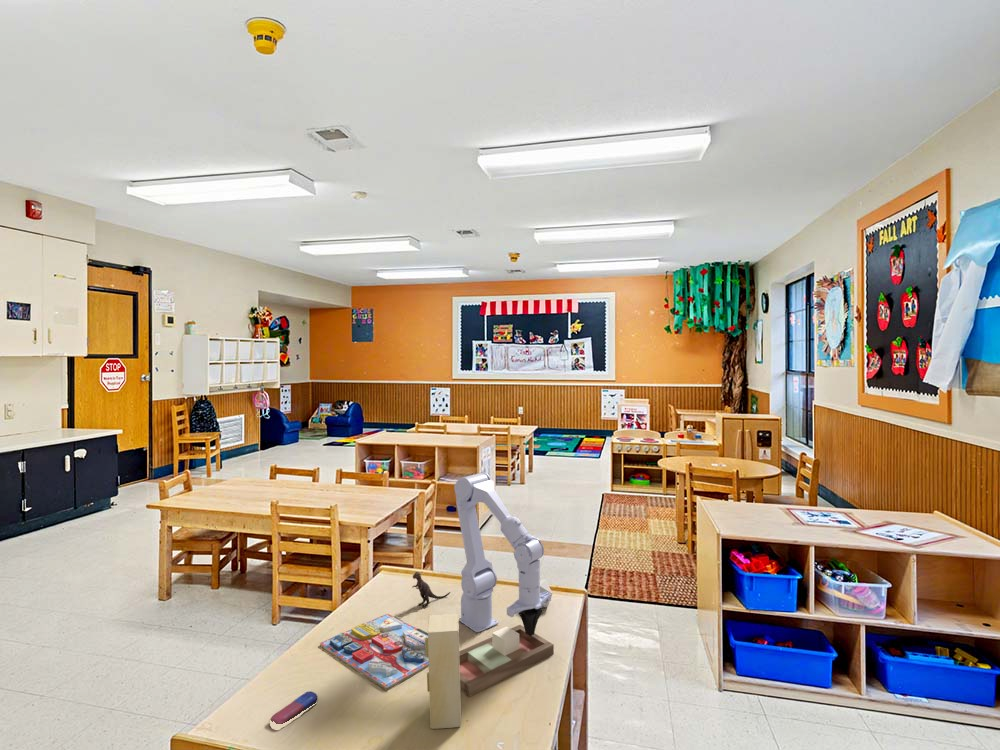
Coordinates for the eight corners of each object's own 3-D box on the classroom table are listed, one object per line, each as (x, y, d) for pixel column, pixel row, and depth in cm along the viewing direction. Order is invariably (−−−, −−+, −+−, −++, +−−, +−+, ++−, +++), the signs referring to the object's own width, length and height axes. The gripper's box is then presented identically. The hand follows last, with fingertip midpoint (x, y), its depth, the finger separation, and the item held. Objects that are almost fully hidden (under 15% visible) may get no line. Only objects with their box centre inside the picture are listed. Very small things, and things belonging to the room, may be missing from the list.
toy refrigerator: (428, 705, 120) (426, 614, 119) (460, 703, 121) (459, 612, 120) (426, 730, 112) (424, 633, 111) (461, 727, 113) (459, 631, 112)
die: (544, 616, 161) (559, 587, 164) (519, 601, 162) (535, 572, 165) (542, 614, 169) (556, 586, 171) (518, 599, 170) (533, 571, 173)
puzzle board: (456, 652, 142) (456, 642, 142) (386, 694, 125) (386, 683, 125) (387, 616, 163) (387, 607, 162) (319, 648, 145) (318, 638, 145)
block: (492, 647, 139) (492, 632, 139) (507, 640, 142) (507, 626, 142) (504, 655, 135) (504, 640, 135) (519, 648, 138) (519, 633, 138)
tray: (437, 670, 133) (437, 660, 133) (520, 633, 150) (519, 624, 150) (469, 697, 123) (468, 686, 123) (553, 653, 140) (553, 644, 140)
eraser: (277, 734, 112) (277, 726, 112) (265, 727, 114) (265, 719, 114) (320, 702, 122) (320, 694, 121) (309, 696, 124) (308, 689, 124)
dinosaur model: (410, 571, 166) (446, 561, 176) (408, 607, 166) (444, 595, 176) (417, 576, 163) (454, 565, 173) (415, 612, 164) (451, 599, 174)
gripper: (518, 597, 135) (519, 649, 136) (558, 581, 144) (559, 630, 145) (501, 588, 141) (502, 638, 141) (541, 573, 150) (541, 620, 150)
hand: (529, 633), depth 144 cm, fingers closed
